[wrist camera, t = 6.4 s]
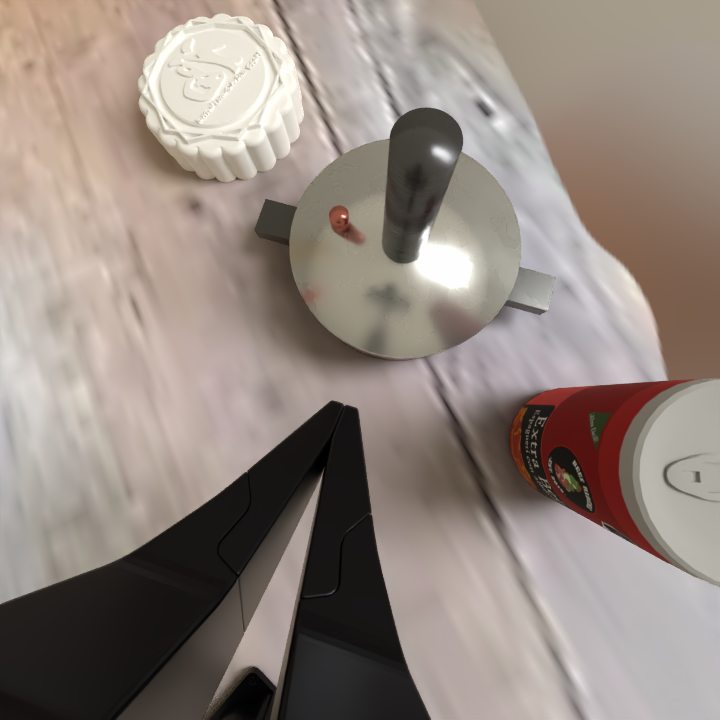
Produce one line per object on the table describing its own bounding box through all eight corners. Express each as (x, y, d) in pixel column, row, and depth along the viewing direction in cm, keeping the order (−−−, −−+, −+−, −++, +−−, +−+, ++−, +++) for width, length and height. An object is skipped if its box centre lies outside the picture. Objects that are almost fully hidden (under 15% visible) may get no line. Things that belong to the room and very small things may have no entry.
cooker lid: (484, 387, 20) (575, 377, 11) (262, 321, 21) (184, 264, 12) (538, 176, 21) (655, 22, 13) (330, 124, 22) (304, -53, 13)
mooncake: (225, 31, 28) (204, -24, 24) (333, 104, 26) (328, 58, 23) (132, 132, 27) (96, 91, 23) (241, 212, 25) (220, 182, 22)
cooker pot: (507, 399, 23) (528, 399, 20) (241, 320, 24) (223, 309, 21) (552, 217, 24) (578, 192, 21) (300, 153, 26) (291, 120, 23)
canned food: (492, 401, 23) (604, 403, 12) (600, 376, 23) (812, 354, 12) (523, 511, 22) (676, 623, 11) (636, 485, 22) (903, 570, 11)
